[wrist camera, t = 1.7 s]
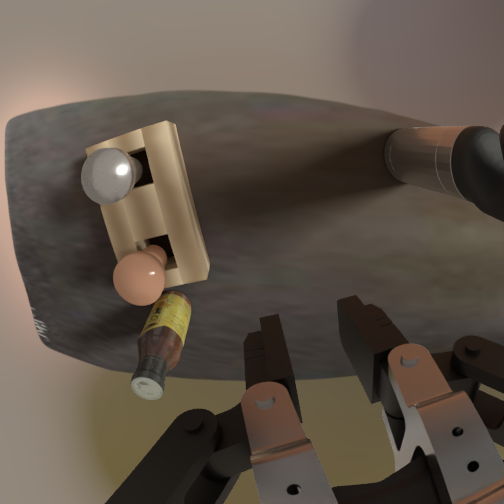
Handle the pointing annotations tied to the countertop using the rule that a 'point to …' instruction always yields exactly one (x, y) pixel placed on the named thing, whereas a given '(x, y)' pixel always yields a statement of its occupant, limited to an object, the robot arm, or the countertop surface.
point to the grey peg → (109, 175)
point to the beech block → (158, 205)
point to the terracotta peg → (141, 275)
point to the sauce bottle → (161, 343)
